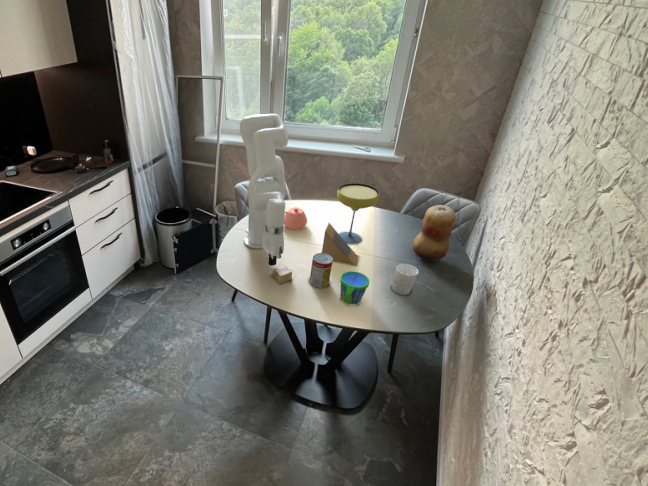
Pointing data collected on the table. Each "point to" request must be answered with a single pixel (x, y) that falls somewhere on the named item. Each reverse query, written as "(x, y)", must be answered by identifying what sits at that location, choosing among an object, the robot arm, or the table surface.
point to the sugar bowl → (295, 218)
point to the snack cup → (353, 286)
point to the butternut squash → (435, 233)
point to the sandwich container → (338, 247)
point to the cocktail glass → (356, 204)
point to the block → (281, 274)
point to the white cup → (404, 278)
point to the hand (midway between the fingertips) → (272, 264)
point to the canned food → (321, 270)
